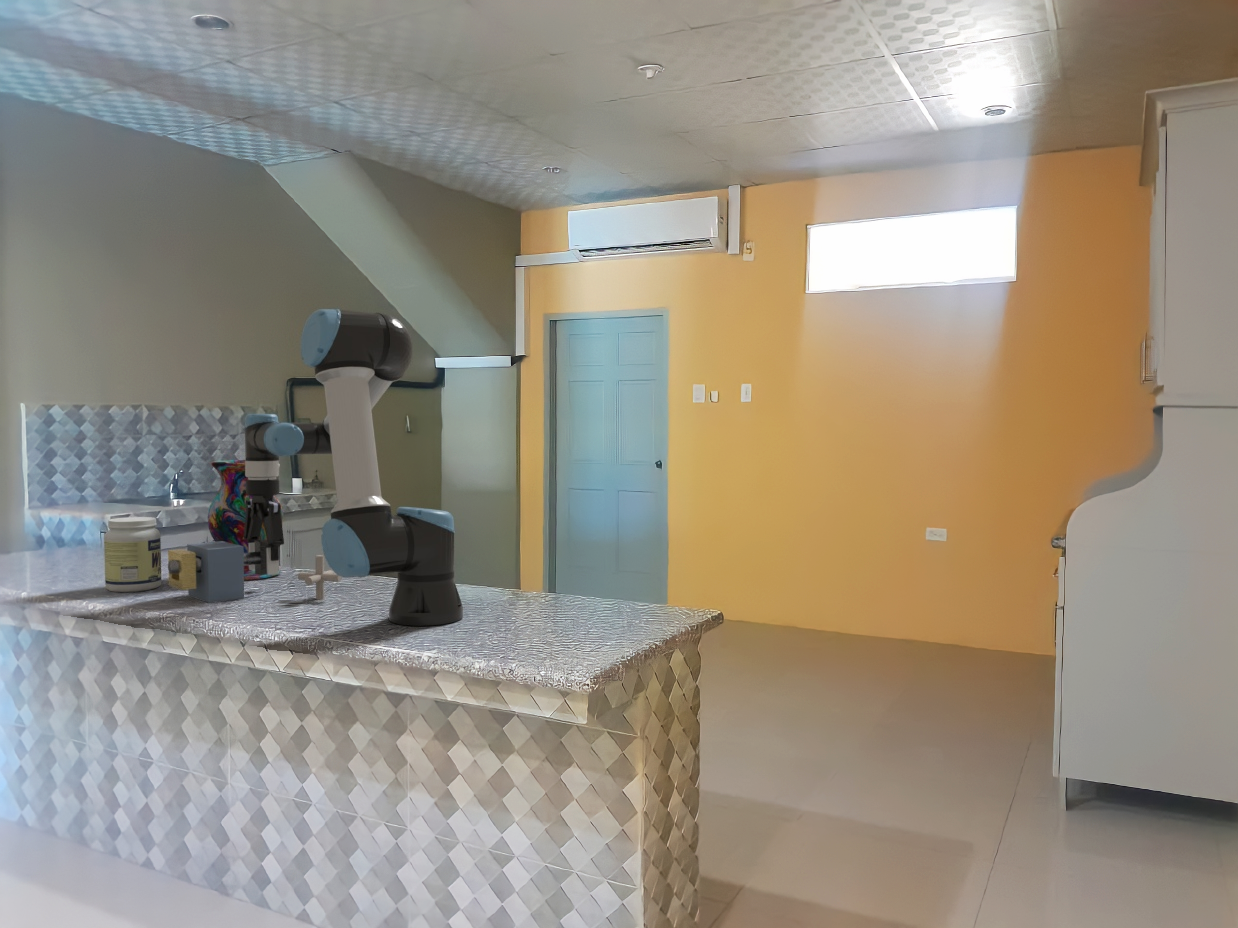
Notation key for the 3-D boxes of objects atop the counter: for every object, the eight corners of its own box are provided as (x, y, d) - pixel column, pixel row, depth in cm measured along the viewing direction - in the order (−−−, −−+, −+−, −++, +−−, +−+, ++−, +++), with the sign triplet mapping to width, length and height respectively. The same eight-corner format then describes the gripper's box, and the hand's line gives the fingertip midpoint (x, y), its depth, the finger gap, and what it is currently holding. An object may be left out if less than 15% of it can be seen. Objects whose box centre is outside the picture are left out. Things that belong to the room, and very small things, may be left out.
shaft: (272, 573, 225) (272, 540, 224) (173, 585, 208) (172, 550, 208) (267, 572, 227) (266, 539, 226) (168, 584, 211) (167, 548, 210)
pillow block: (244, 597, 215) (243, 546, 215) (209, 602, 210) (208, 549, 209) (222, 590, 224) (221, 540, 223) (188, 595, 218) (187, 544, 217)
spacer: (196, 588, 210) (195, 552, 209) (182, 589, 207) (181, 554, 207) (182, 583, 215) (181, 549, 215) (168, 585, 213) (168, 550, 213)
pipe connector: (329, 604, 209) (328, 559, 208) (288, 602, 211) (287, 558, 210) (350, 595, 219) (350, 553, 218) (311, 593, 221) (311, 551, 220)
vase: (240, 584, 232) (238, 464, 230) (193, 577, 241) (191, 461, 239) (299, 573, 248) (297, 461, 246) (253, 567, 257) (251, 458, 255)
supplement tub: (159, 591, 223) (158, 520, 222) (101, 594, 219) (99, 522, 218) (163, 582, 234) (162, 515, 233) (108, 585, 230) (107, 517, 229)
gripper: (298, 480, 219) (300, 575, 220) (257, 475, 234) (259, 564, 235) (267, 481, 213) (269, 579, 214) (227, 476, 228) (229, 567, 230)
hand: (263, 571), depth 225 cm, fingers open, 9 cm apart
